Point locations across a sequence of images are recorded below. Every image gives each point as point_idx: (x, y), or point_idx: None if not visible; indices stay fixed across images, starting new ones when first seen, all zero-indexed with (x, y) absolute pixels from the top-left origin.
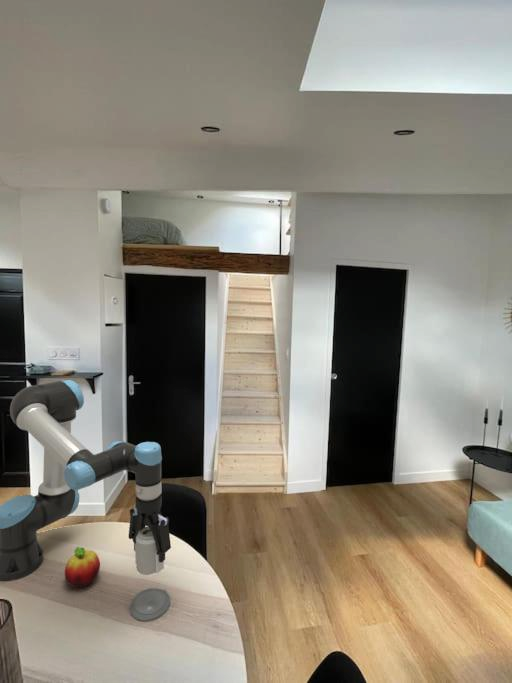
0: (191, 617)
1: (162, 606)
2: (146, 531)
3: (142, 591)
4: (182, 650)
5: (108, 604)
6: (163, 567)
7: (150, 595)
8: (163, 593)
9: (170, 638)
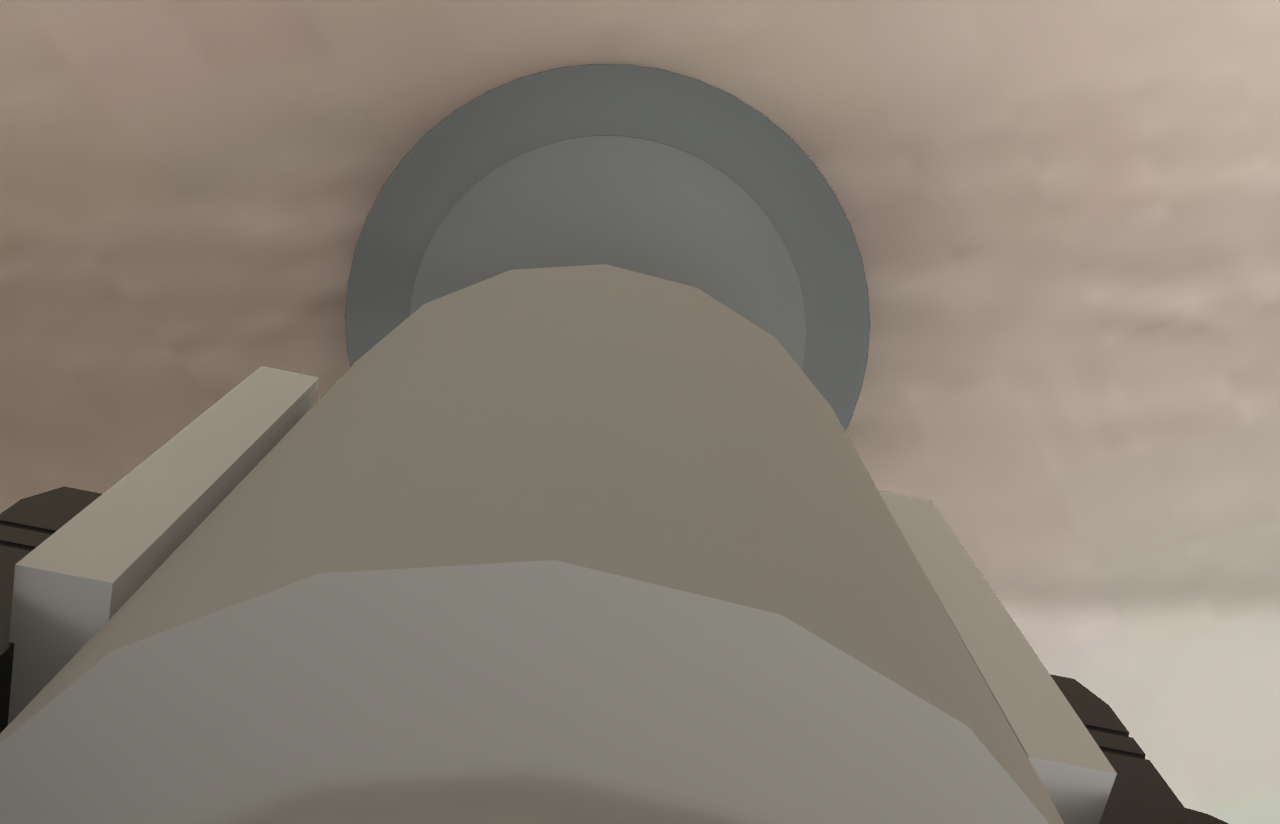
0: (1207, 347)
1: (803, 353)
2: (53, 690)
3: (388, 186)
4: (1246, 742)
5: (95, 466)
6: (932, 514)
7: (548, 236)
8: (699, 131)
9: (1067, 660)
